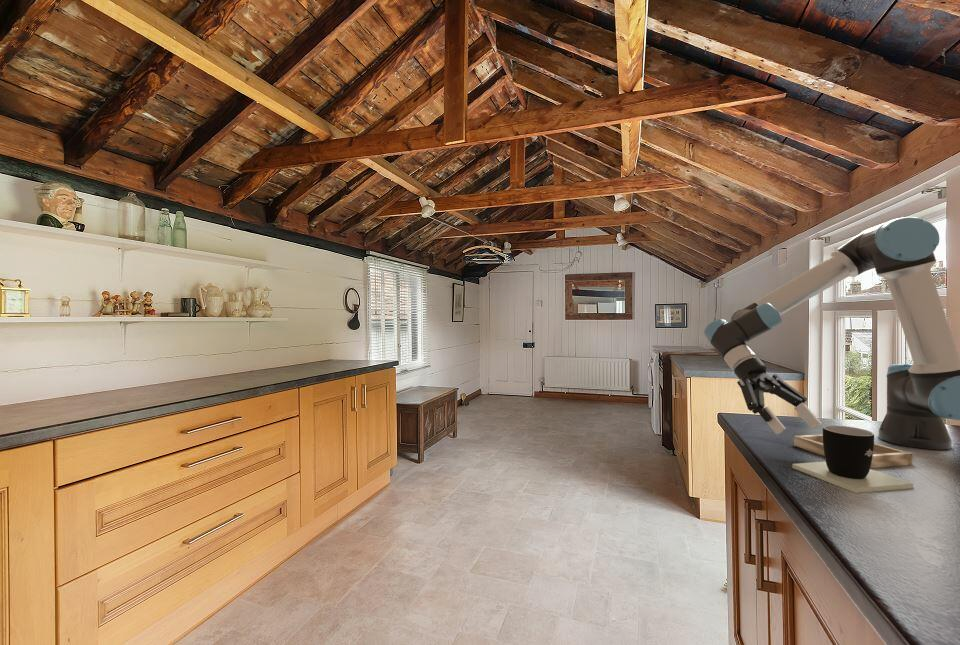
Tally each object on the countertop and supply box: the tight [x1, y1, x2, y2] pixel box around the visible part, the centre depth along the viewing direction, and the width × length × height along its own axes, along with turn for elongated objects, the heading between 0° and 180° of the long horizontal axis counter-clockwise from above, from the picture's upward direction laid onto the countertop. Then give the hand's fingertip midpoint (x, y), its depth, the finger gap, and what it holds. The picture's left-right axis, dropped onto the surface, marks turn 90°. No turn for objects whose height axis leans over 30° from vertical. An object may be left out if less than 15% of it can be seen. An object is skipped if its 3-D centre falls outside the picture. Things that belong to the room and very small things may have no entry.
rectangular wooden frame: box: [793, 433, 913, 469], centre depth 115 cm, size 15×18×3 cm
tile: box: [791, 461, 915, 494], centre depth 99 cm, size 15×15×1 cm
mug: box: [822, 424, 875, 479], centre depth 99 cm, size 12×9×10 cm
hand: (799, 429), depth 110 cm, fingers open, 13 cm apart
